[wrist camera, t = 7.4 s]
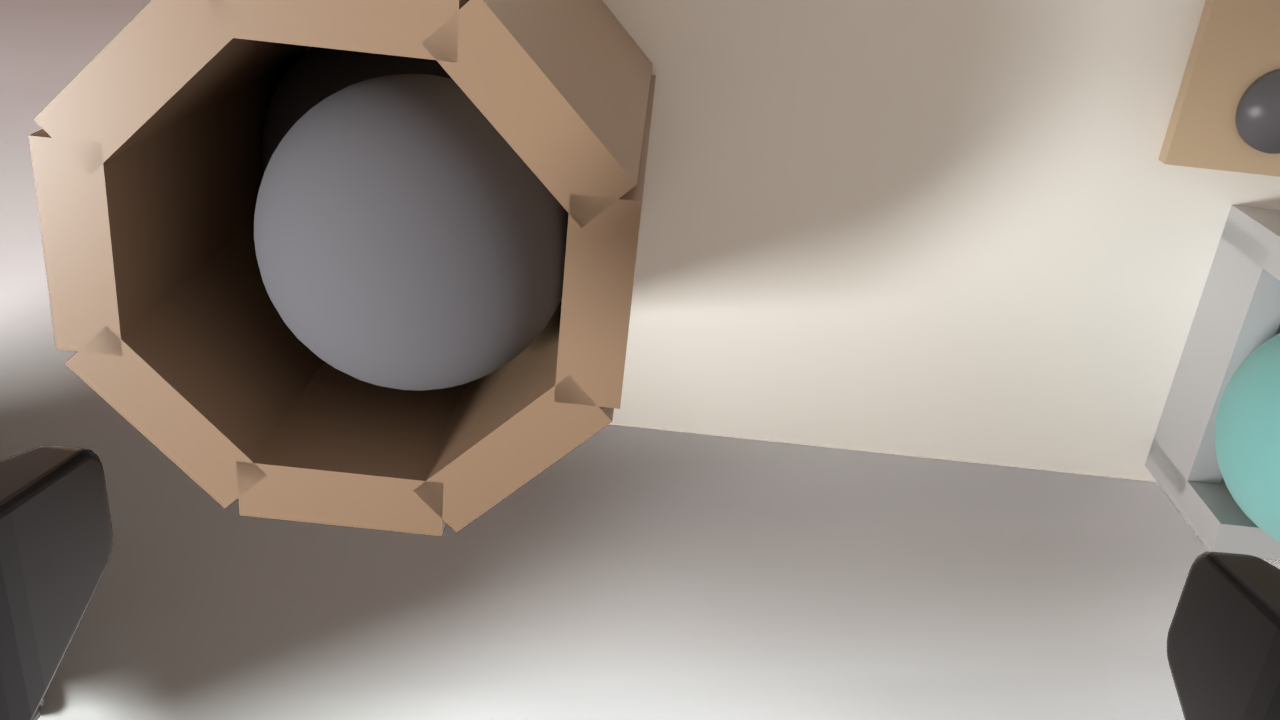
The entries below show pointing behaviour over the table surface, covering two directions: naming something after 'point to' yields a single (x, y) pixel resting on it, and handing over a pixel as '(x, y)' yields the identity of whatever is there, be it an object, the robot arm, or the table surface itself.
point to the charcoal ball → (408, 236)
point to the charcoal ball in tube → (328, 85)
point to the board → (709, 240)
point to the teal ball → (1253, 436)
